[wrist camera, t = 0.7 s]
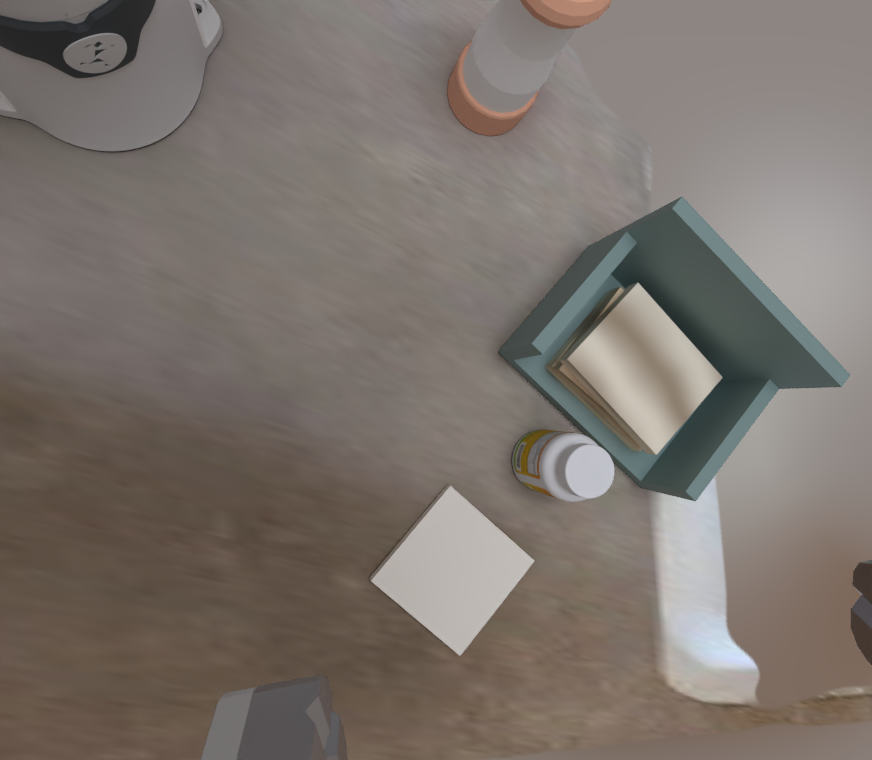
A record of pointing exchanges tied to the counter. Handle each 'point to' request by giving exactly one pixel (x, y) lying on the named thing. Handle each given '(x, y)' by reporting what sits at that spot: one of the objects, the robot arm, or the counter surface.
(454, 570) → the plate
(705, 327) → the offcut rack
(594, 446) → the supplement bottle
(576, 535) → the counter surface
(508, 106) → the pepper shaker
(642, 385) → the birch offcut top
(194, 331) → the counter surface
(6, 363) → the counter surface
